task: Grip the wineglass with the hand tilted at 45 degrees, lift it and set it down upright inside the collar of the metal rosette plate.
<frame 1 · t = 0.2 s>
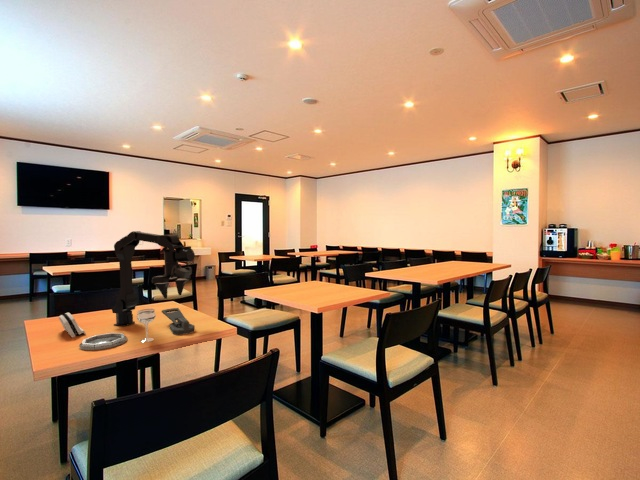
hand: (173, 296, 155), 14 cm above the table, tool pointing down, fingers open, 9 cm apart
wineglass: (147, 340, 140), on the table
rosette plate: (104, 343, 136), on the table
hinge: (71, 333, 151), on the table
zipper pull: (177, 328, 157), on the table
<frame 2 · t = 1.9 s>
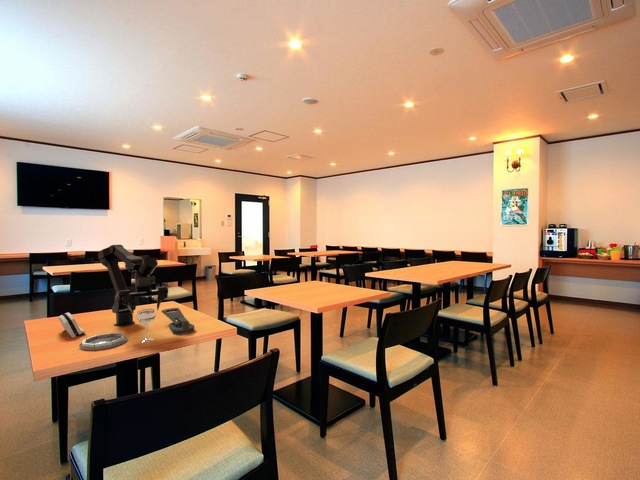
hand: (145, 311, 143), 11 cm above the table, tool tilted 45°, fingers open, 9 cm apart
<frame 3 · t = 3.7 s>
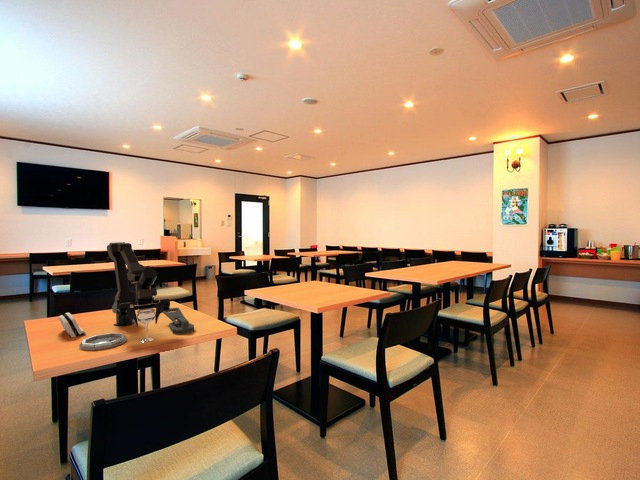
hand: (146, 324, 138), 7 cm above the table, tool tilted 45°, fingers closed on wineglass, 6 cm apart
wineglass: (147, 340, 140), on the table, touching gripper
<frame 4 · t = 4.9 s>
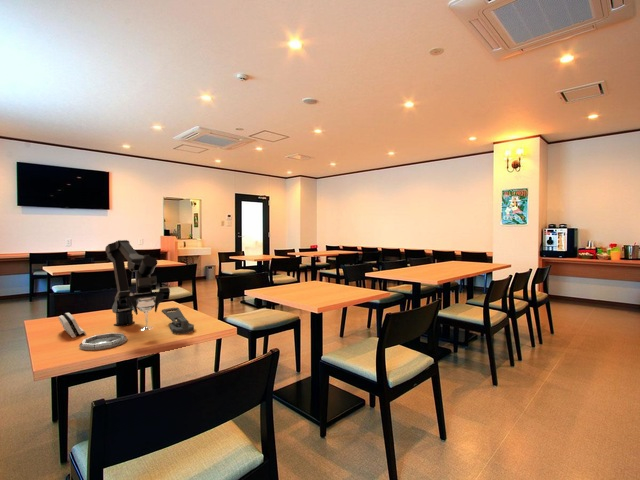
hand: (146, 312, 138), 11 cm above the table, tool tilted 45°, fingers closed on wineglass, 6 cm apart
wineglass: (146, 328, 139), point 5 cm above the table, touching gripper
when the fingers open (8 cm above the table, at t = 7.8 s): wineglass stays where it is, resting on rosette plate.
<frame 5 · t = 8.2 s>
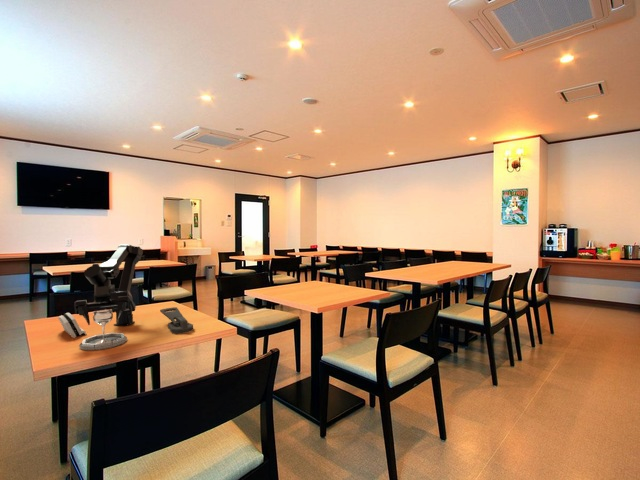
hand: (103, 322, 135), 9 cm above the table, tool tilted 45°, fingers open, 9 cm apart
wineglass: (103, 341, 136), point 1 cm above the table, touching rosette plate
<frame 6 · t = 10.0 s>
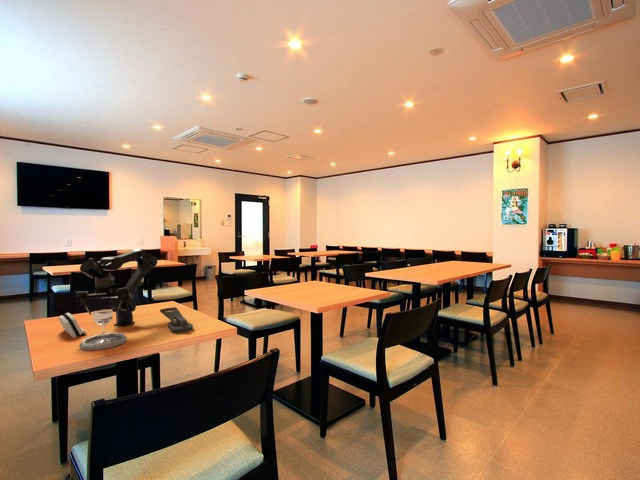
hand: (103, 312, 141), 11 cm above the table, tool tilted 45°, fingers open, 9 cm apart
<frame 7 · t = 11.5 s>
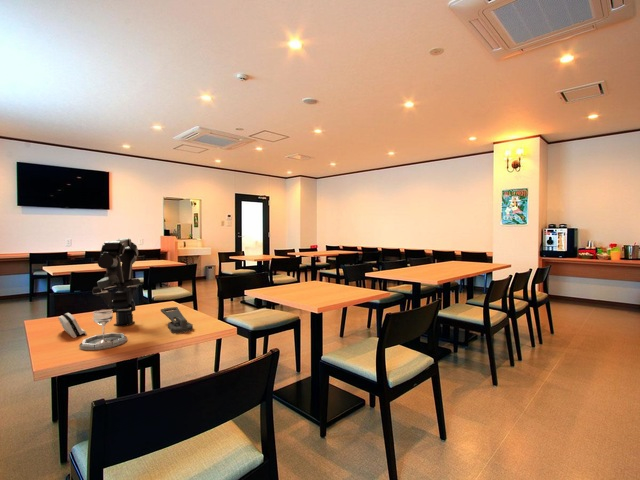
hand: (119, 306, 147), 12 cm above the table, tool pointing down, fingers open, 9 cm apart
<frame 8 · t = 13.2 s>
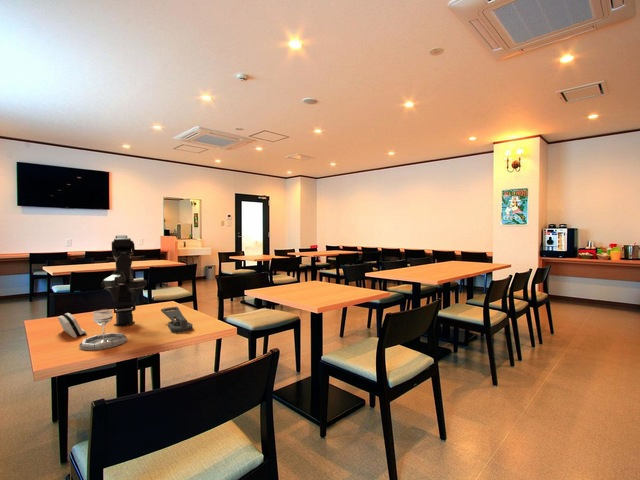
hand: (124, 303, 149), 13 cm above the table, tool pointing down, fingers open, 9 cm apart
at the end: wineglass 0.1 cm off-centre on the rosette plate, point 0.6 cm above the rosette plate's base; wineglass tilted 0°; the gripper is holding nothing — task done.
